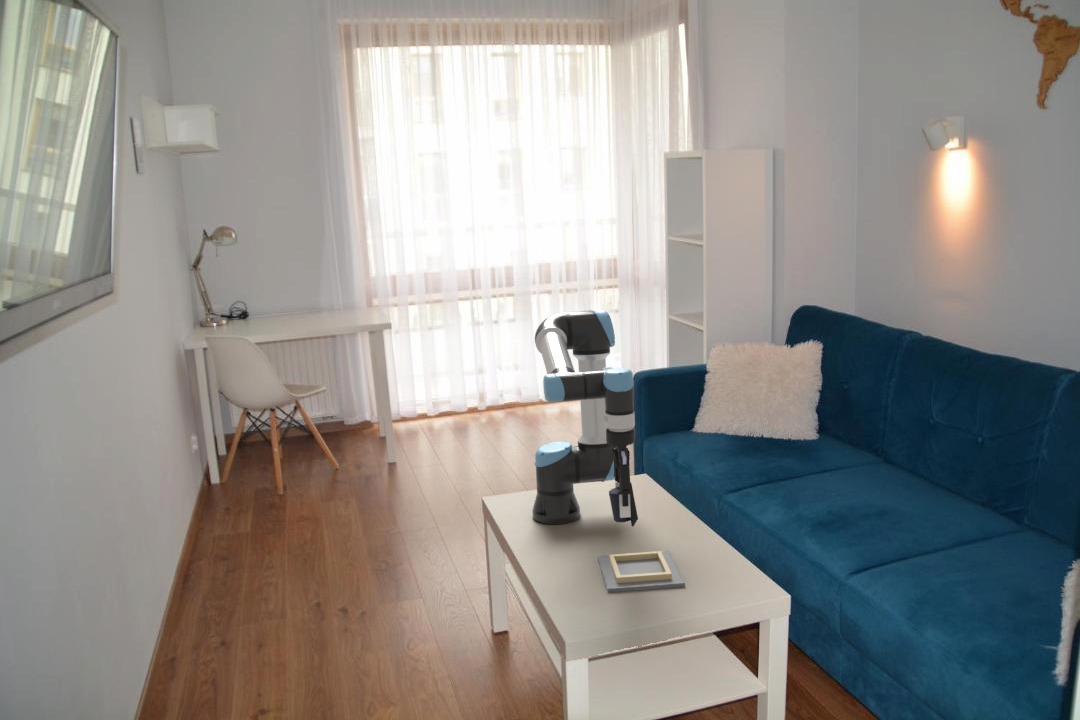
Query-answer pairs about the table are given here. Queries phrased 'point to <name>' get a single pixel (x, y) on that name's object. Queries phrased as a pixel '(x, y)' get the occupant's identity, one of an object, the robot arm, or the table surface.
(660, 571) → the mount board
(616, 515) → the speaker
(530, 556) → the table surface
